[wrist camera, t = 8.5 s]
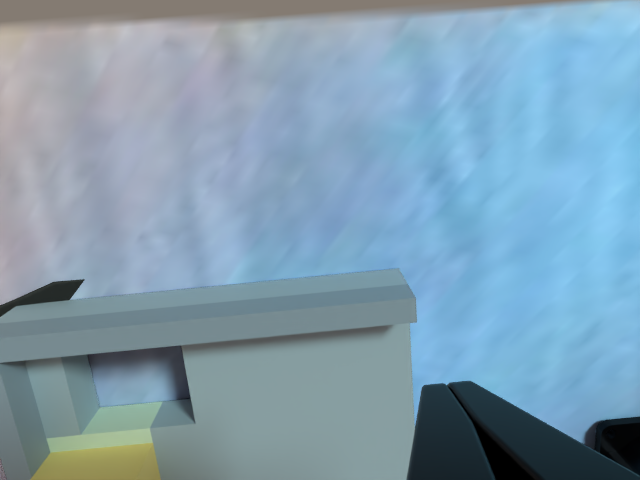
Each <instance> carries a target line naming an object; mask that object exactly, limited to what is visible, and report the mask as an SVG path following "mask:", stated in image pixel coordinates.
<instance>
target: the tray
mask: <svg viewBox="0 0 640 480" xmlns="http://www.w3.org/2000/svg"><path fill="white" fill-rule="evenodd" d="M416 322H417V314H416V297H415V296H414V294H413V292H412V291H411V289H410V287H409V285H408V284H407V282H406V280H405V279H404V277H403V275H402V273H401V272H400V270H399V268H398V269H388V270H377V271H367V272H357V273H346V274H336V275H325V276H315V277H305V278H294V279H284V280H274V281H263V282H253V283H243V284H232V285H222V286H212V287H201V288H191V289H181V290H170V291H160V292H150V293H139V294H129V295H119V296H108V297H98V298H88V299H77V300H67V301H57V302H47V303H39V304H30V305H21V306H16V307H14V308H13V309H11V310H10V311H8V312H7V313H5V314H4V315H3V316H1V317H0V459H1V462H2V465H3V469H4V472H5V475H6V478H7V480H30V479H31V478H32V477H33V475H34V474H35V473H36V471H37V470H38V469H39V467H40V466H41V465H42V463H43V462H44V461H45V459H46V458H47V457H48V455H49V454H50V453H51V452H61V451H71V450H82V449H92V448H103V447H113V446H124V445H134V444H145V443H153V445H154V450H155V454H156V459H157V464H158V469H159V473H160V478H161V480H406V479H407V473H408V467H409V461H410V455H411V449H412V443H413V438H414V432H415V425H414V405H413V384H412V363H411V342H410V323H416ZM179 345H181V348H182V353H183V359H184V364H185V369H186V375H187V380H188V386H189V391H190V396H191V399H183V400H173V401H163V402H153V403H142V404H132V405H122V406H111V407H101V408H100V406H99V402H98V398H97V393H96V389H95V385H94V381H93V377H92V373H91V369H90V365H89V360H88V356H87V354H96V353H107V352H117V351H127V350H138V349H148V348H158V347H169V346H179Z"/></svg>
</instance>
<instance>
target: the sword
mask: <svg viewBox="0 0 640 480" xmlns="http://www.w3.org/2000/svg"><path fill="white" fill-rule="evenodd" d="M84 280H85V279H83V280H71V281H58V282H52V283H50V284H48V285H46V286H44V287H41V288H39V289H37V290H35V291H33V292H30V293H28V294H26V295H24V296H21V297H19V298H17V299H15V300H12V301H10V302H8V303H5V304H3V305H0V317H1V316H3V315H4V314H5V313H7V312H8V311H10V310H11V309H13V308H14V307H16V306H21V305H30V304H39V303H47V302H57V301H67V300H70V299H71V297H72V296H73V295H74V293H75V292H76V291H77V289H78V288H79V287H80V285H81V284H82V283H83V281H84Z"/></svg>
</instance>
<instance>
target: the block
mask: <svg viewBox="0 0 640 480" xmlns="http://www.w3.org/2000/svg"><path fill="white" fill-rule="evenodd" d="M30 480H161V478H160V473H159V469H158V464H157V459H156V454H155V450H154V445H153V443H145V444H134V445H124V446H113V447H103V448H92V449H82V450H71V451H61V452H51V453H50V454H49V455H48V457H47V458H46V459H45V461H44V462H43V463H42V465H41V466H40V467H39V469H38V470H37V471H36V473H35V474H34V475H33V477H32V478H31V479H30Z"/></svg>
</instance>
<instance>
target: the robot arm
mask: <svg viewBox="0 0 640 480" xmlns="http://www.w3.org/2000/svg"><path fill="white" fill-rule="evenodd" d="M609 430H611V431H610V432H609V433H607V432H608V431H609ZM406 480H640V417H633V418H622V419H612V420H605V421H602V422H601V423H600V424H599V425H598V426H597V429H596V442H595V450H593V449H591V448H589V447H587V446H586V445H584V444H582V443H580V442H579V441H577V440H575V439H573V438H571V437H570V436H568V435H566V434H564V433H563V432H561V431H559V430H557V429H555V428H554V427H552V426H550V425H548V424H547V423H545V422H543V421H541V420H539V419H538V418H536V417H534V416H532V415H531V414H529V413H527V412H525V411H523V410H522V409H520V408H518V407H516V406H515V405H513V404H511V403H509V402H507V401H506V400H504V399H502V398H500V397H499V396H497V395H495V394H493V393H491V392H490V391H488V390H486V389H484V388H483V387H481V386H479V385H477V384H475V383H474V382H471V381H461V382H451V383H449V384H448V385H446V384H443V383H441V384H430V385H424V386H423V387H422V391H421V396H420V402H419V408H418V414H417V420H416V426H415V432H414V438H413V443H412V449H411V455H410V461H409V467H408V473H407V479H406Z"/></svg>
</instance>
